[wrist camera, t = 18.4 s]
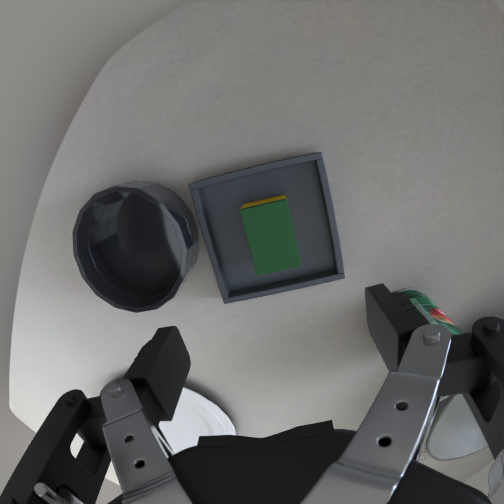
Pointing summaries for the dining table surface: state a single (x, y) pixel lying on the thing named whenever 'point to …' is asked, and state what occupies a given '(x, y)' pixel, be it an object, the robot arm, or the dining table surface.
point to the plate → (195, 421)
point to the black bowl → (135, 245)
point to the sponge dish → (302, 216)
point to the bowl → (454, 431)
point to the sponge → (270, 235)
